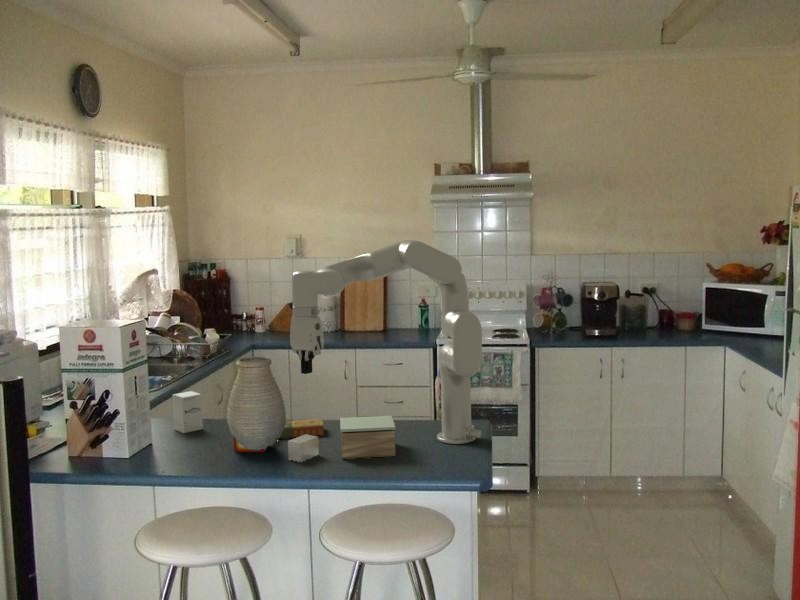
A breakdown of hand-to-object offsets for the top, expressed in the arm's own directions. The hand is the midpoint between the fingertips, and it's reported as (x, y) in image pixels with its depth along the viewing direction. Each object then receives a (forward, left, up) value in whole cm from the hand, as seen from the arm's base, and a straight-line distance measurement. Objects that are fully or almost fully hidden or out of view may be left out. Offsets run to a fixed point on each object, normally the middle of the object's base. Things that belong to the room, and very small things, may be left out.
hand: (306, 372), depth 235 cm
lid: (-12, -14, -18) cm, 25 cm away
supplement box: (+56, -1, -26) cm, 62 cm away
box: (-12, -14, -26) cm, 32 cm away
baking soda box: (+21, +3, -26) cm, 34 cm away
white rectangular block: (+1, +1, -26) cm, 26 cm away
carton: (+19, -17, -27) cm, 37 cm away
